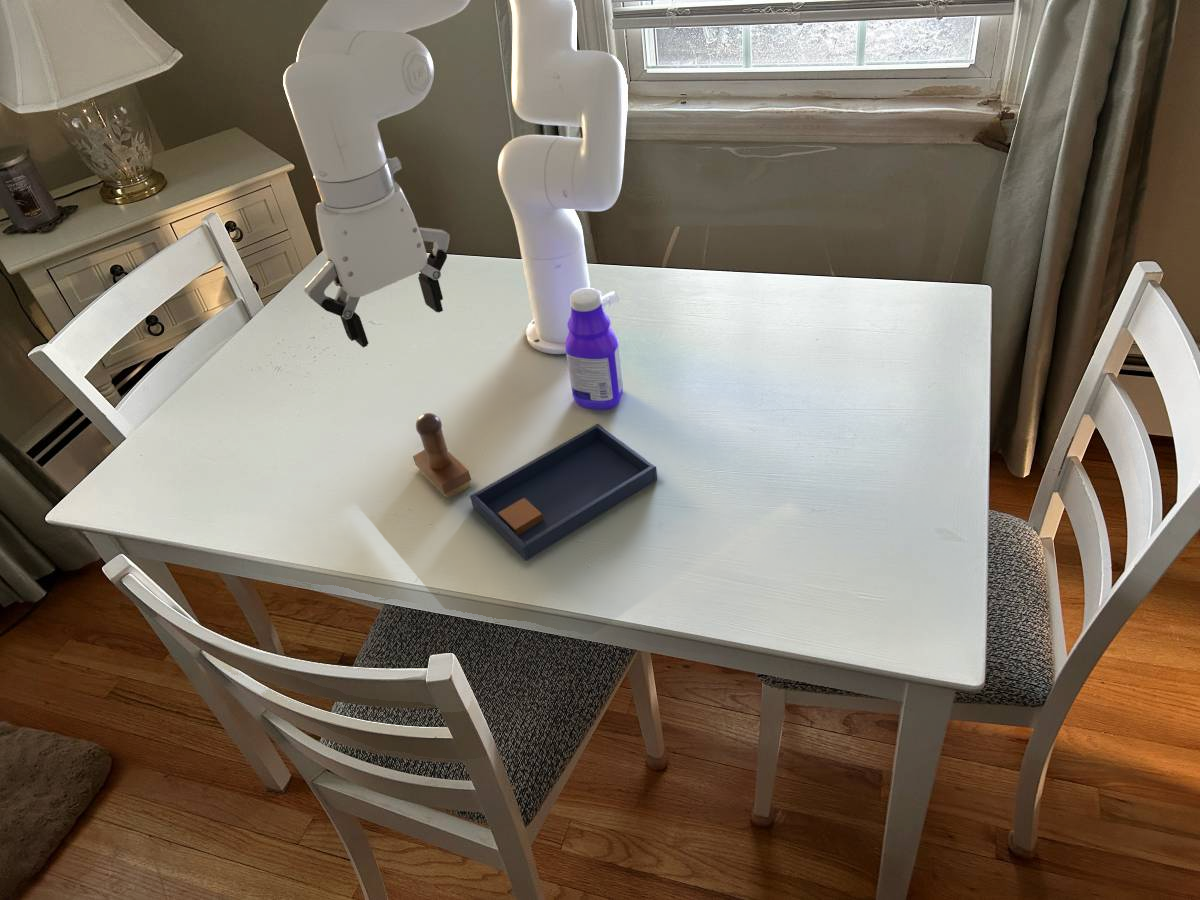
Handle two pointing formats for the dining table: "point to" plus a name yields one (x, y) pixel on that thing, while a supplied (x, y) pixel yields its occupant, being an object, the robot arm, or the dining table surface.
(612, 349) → the bottle
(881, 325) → the dining table surface
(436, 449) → the wooden stamp
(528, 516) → the brown square tile
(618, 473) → the tray
